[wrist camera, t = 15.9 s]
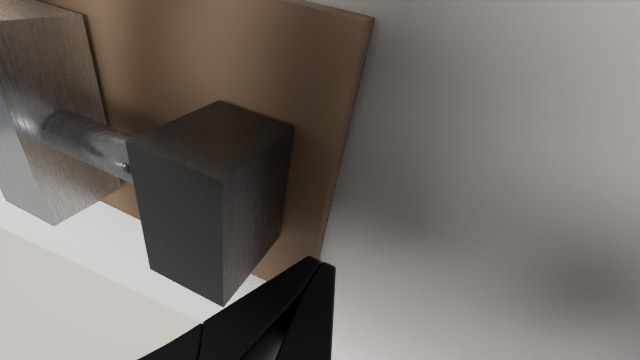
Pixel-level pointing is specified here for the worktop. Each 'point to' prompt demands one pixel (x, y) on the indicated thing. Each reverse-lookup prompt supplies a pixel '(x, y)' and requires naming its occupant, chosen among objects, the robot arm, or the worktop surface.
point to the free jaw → (136, 157)
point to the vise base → (236, 86)
